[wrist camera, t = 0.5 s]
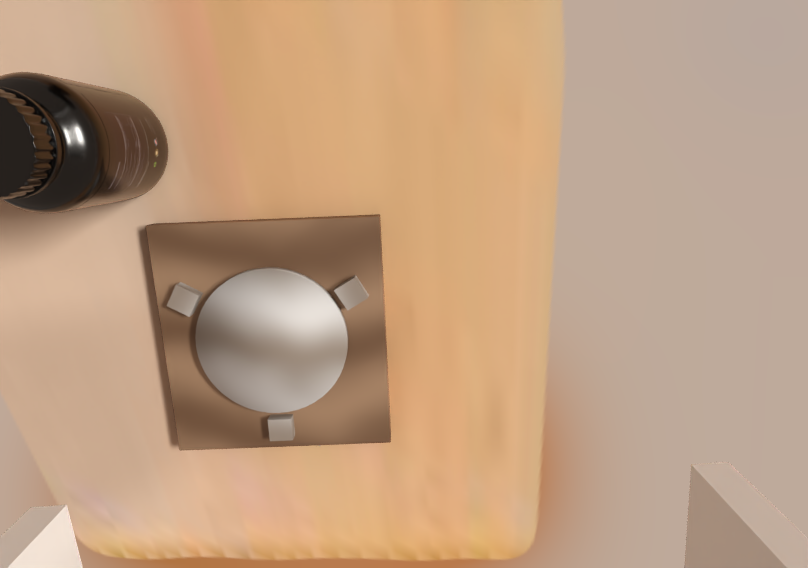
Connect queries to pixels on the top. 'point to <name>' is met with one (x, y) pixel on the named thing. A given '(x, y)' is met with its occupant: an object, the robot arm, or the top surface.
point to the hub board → (273, 330)
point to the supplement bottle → (74, 144)
